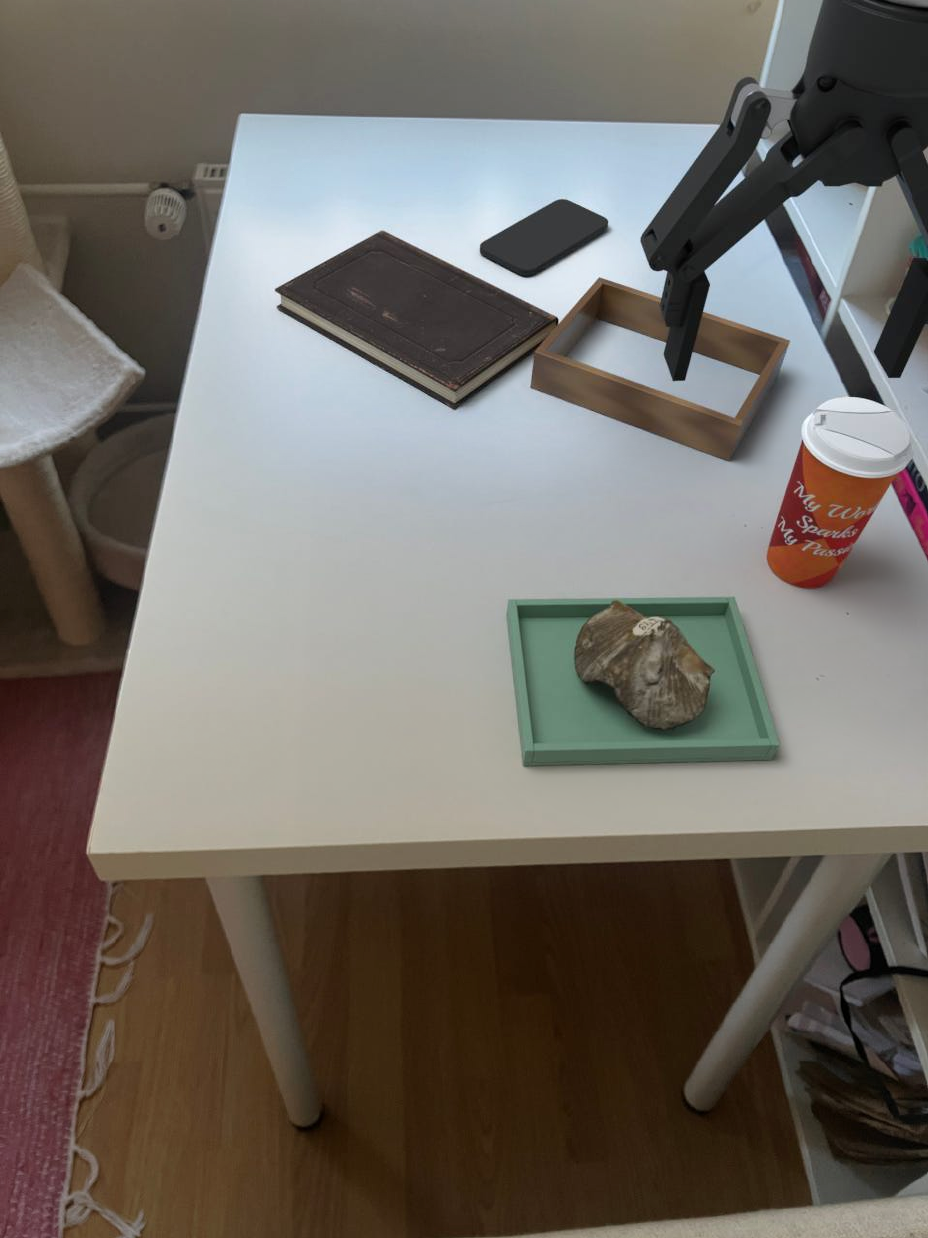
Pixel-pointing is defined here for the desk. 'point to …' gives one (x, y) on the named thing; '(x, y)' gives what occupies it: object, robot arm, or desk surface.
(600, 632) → the fossilized seashell
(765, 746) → the tray
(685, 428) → the rectangular frame
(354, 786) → the desk surface
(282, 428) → the desk surface
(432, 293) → the hardcover book
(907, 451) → the paper cup
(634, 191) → the desk surface
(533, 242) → the phone
